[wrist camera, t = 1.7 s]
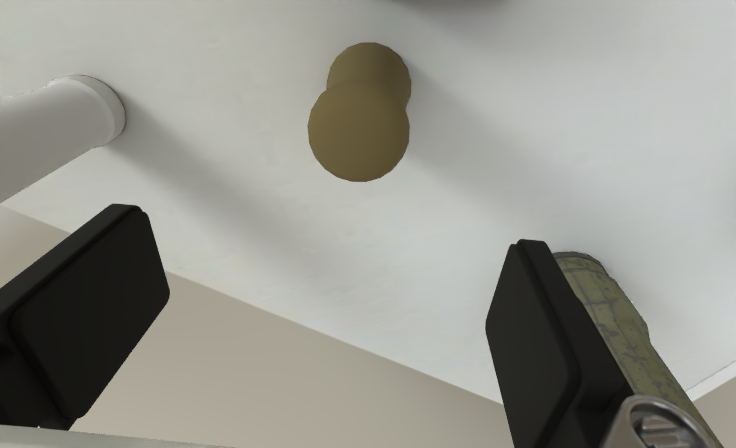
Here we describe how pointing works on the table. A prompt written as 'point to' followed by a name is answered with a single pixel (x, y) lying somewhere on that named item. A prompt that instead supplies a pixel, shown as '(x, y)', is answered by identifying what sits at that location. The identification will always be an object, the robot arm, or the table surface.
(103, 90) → the bottle
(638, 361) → the thermos
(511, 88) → the table surface
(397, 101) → the cork
